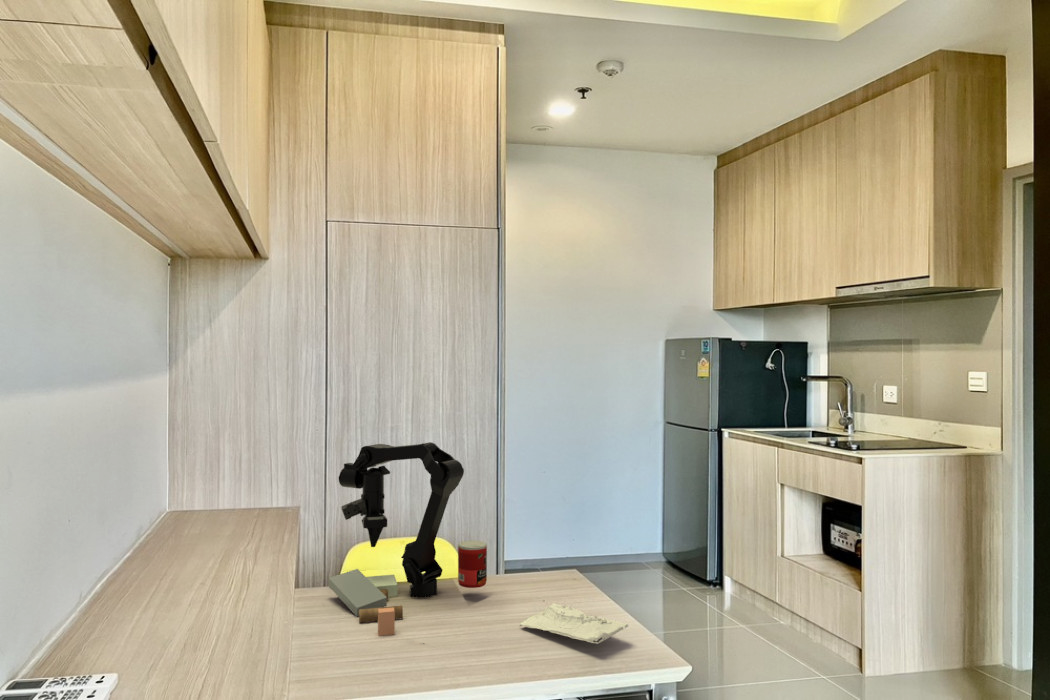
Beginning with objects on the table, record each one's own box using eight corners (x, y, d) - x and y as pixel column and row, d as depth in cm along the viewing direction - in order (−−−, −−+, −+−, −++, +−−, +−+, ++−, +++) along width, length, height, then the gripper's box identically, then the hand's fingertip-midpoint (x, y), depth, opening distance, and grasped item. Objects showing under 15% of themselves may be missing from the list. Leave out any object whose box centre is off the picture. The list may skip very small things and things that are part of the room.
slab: (357, 576, 187) (357, 568, 187) (386, 605, 176) (386, 597, 175) (328, 586, 182) (328, 577, 182) (356, 616, 171) (357, 608, 170)
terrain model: (604, 651, 152) (604, 627, 152) (513, 630, 164) (513, 608, 164) (633, 626, 167) (633, 604, 167) (547, 608, 178) (547, 588, 178)
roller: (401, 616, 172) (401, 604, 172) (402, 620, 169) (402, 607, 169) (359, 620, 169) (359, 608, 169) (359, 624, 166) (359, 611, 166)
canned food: (482, 589, 191) (482, 548, 191) (454, 587, 193) (454, 546, 193) (489, 580, 199) (489, 541, 199) (462, 578, 200) (462, 539, 200)
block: (394, 585, 194) (394, 574, 194) (397, 596, 185) (397, 584, 185) (352, 589, 191) (352, 577, 191) (354, 600, 182) (354, 588, 182)
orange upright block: (393, 630, 162) (393, 607, 162) (394, 634, 160) (394, 611, 160) (377, 631, 161) (378, 608, 161) (378, 635, 159) (378, 612, 159)
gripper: (342, 485, 203) (342, 540, 203) (344, 498, 185) (344, 558, 185) (381, 483, 206) (381, 537, 206) (387, 495, 188) (387, 554, 188)
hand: (373, 546), depth 196 cm, fingers closed
